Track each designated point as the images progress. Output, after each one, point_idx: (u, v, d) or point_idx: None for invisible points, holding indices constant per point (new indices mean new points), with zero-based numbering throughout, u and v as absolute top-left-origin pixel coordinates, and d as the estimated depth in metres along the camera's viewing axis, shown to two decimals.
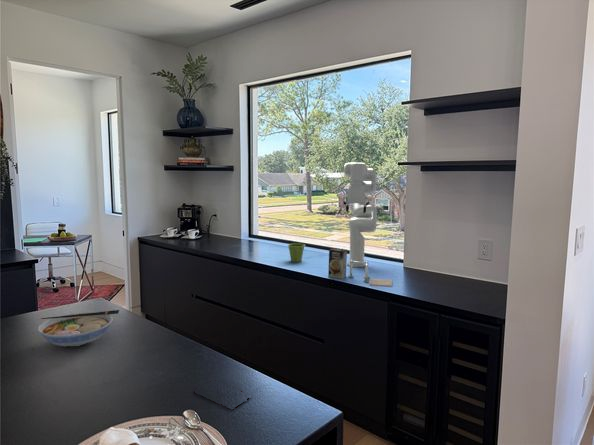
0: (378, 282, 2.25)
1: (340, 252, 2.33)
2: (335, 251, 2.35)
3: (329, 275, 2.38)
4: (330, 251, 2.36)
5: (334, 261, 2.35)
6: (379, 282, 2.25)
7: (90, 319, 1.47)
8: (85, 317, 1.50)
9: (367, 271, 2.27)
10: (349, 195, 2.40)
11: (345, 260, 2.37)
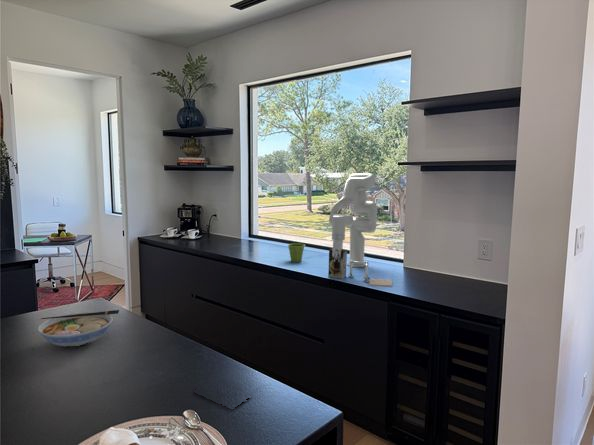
0: (378, 282, 2.25)
1: None
2: None
3: (329, 275, 2.38)
4: (330, 251, 2.36)
5: None
6: (379, 282, 2.25)
7: (90, 319, 1.47)
8: (85, 317, 1.50)
9: (367, 271, 2.27)
10: (341, 249, 2.33)
11: (345, 260, 2.37)
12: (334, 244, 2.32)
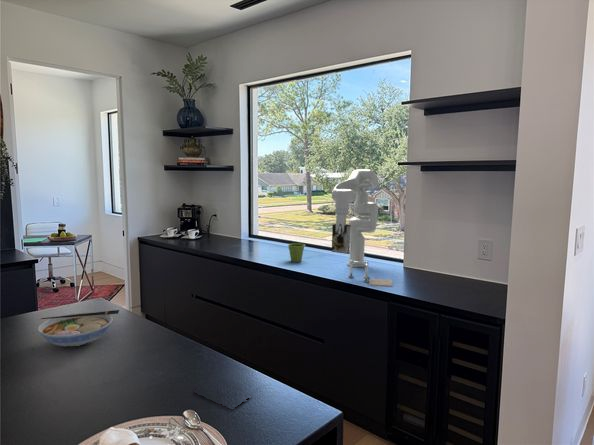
0: (378, 282, 2.25)
1: None
2: None
3: (332, 250, 2.36)
4: (333, 226, 2.34)
5: None
6: (379, 282, 2.25)
7: (90, 319, 1.47)
8: (85, 317, 1.50)
9: (367, 271, 2.27)
10: (344, 224, 2.31)
11: (348, 235, 2.35)
12: (337, 219, 2.31)
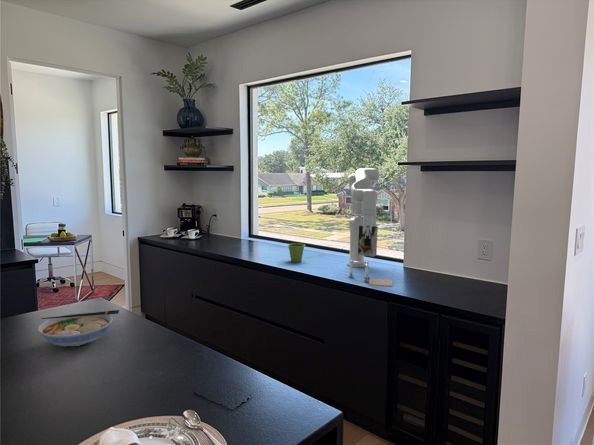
0: (378, 282, 2.25)
1: None
2: None
3: (359, 253, 2.25)
4: (360, 228, 2.23)
5: None
6: (379, 282, 2.25)
7: (90, 319, 1.47)
8: (85, 317, 1.50)
9: (367, 271, 2.27)
10: (372, 225, 2.20)
11: (376, 237, 2.24)
12: (365, 220, 2.20)
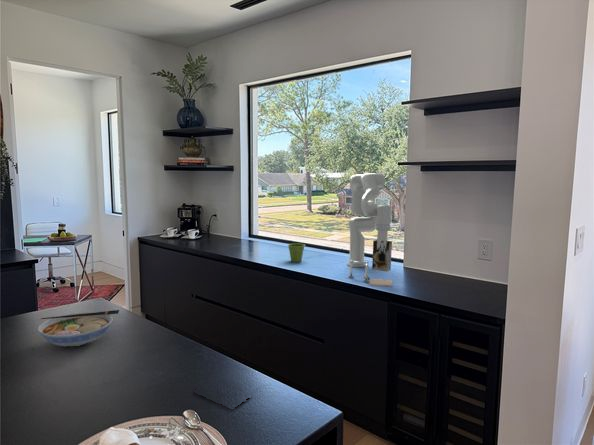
0: (378, 282, 2.25)
1: None
2: None
3: (373, 268, 2.24)
4: (374, 243, 2.22)
5: (379, 253, 2.21)
6: (379, 282, 2.25)
7: (90, 319, 1.47)
8: (85, 317, 1.50)
9: (367, 271, 2.27)
10: (386, 241, 2.19)
11: (390, 252, 2.23)
12: (379, 235, 2.19)
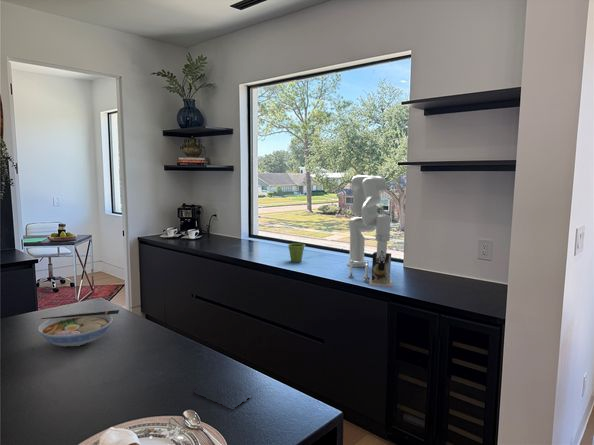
0: None
1: None
2: None
3: (372, 280, 2.25)
4: (374, 255, 2.23)
5: None
6: None
7: (90, 319, 1.47)
8: (85, 317, 1.50)
9: (367, 271, 2.27)
10: (386, 251, 2.20)
11: (389, 264, 2.24)
12: (379, 245, 2.19)
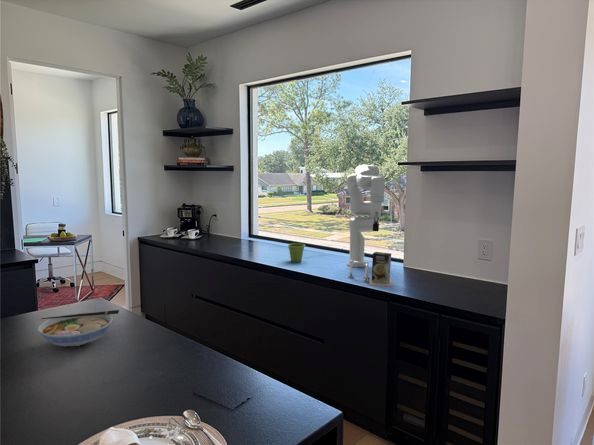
0: None
1: (385, 256, 2.21)
2: (379, 255, 2.22)
3: (372, 280, 2.25)
4: (374, 255, 2.23)
5: (379, 266, 2.23)
6: None
7: (90, 319, 1.47)
8: (85, 317, 1.50)
9: (367, 271, 2.27)
10: (380, 212, 2.23)
11: (389, 264, 2.24)
12: (373, 206, 2.23)
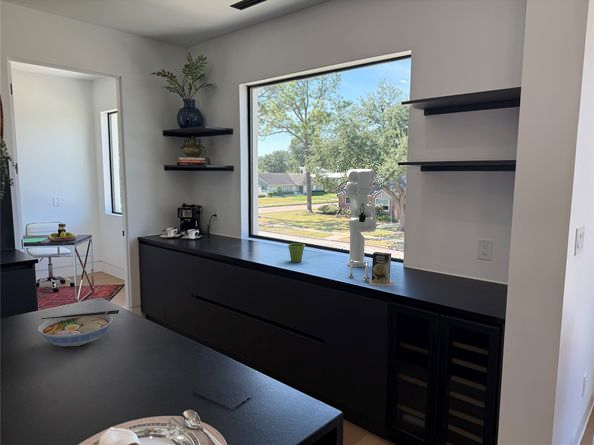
0: None
1: (385, 256, 2.21)
2: (379, 255, 2.22)
3: (372, 280, 2.25)
4: (374, 255, 2.23)
5: (379, 266, 2.23)
6: None
7: (90, 319, 1.47)
8: (85, 317, 1.50)
9: (367, 271, 2.27)
10: (366, 204, 2.35)
11: (389, 264, 2.24)
12: (359, 198, 2.35)
